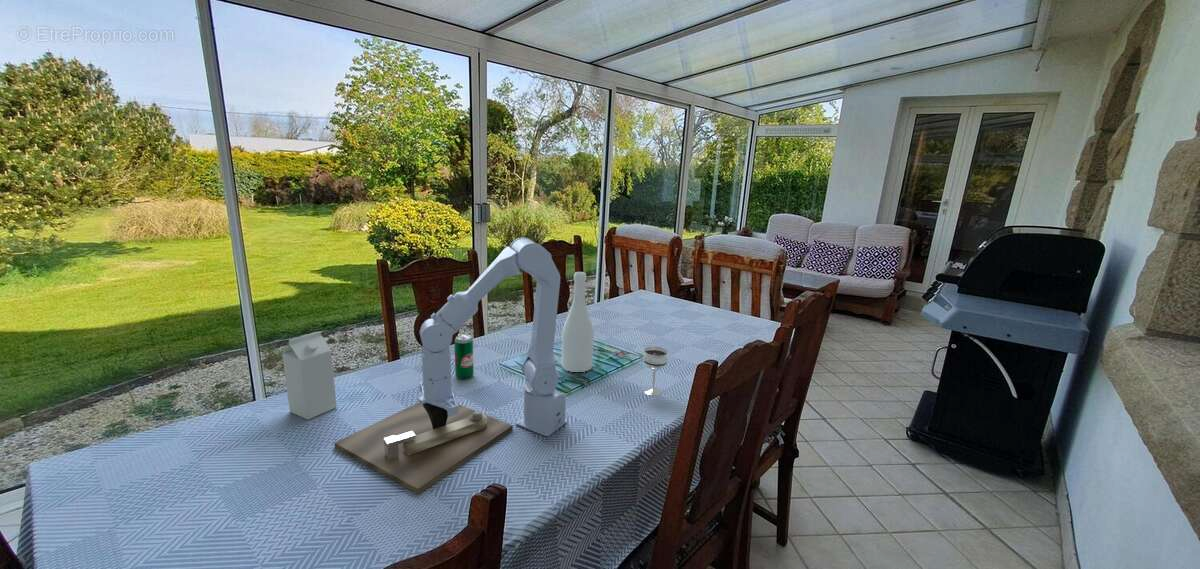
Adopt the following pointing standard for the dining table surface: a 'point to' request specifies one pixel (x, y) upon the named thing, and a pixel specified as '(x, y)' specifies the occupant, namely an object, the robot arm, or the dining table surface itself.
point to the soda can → (464, 356)
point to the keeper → (396, 444)
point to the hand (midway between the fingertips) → (439, 432)
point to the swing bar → (446, 433)
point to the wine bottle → (578, 331)
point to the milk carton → (309, 376)
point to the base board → (427, 463)
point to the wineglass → (654, 365)
